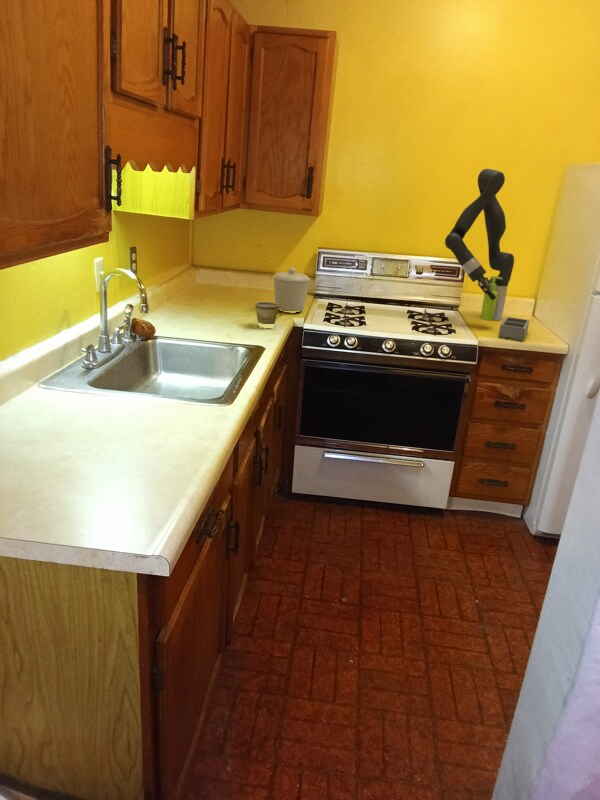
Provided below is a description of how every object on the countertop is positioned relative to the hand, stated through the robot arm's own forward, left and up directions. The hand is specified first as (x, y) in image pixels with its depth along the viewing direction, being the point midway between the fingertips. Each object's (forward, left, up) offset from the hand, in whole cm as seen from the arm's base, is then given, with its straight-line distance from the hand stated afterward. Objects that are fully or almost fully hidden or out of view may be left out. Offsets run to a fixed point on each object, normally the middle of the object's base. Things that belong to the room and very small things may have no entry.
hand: (495, 297), depth 289 cm
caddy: (+6, +11, -15) cm, 20 cm away
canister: (+32, -91, -15) cm, 97 cm away
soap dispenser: (0, -2, -10) cm, 11 cm away
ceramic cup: (+68, -83, -15) cm, 108 cm away
